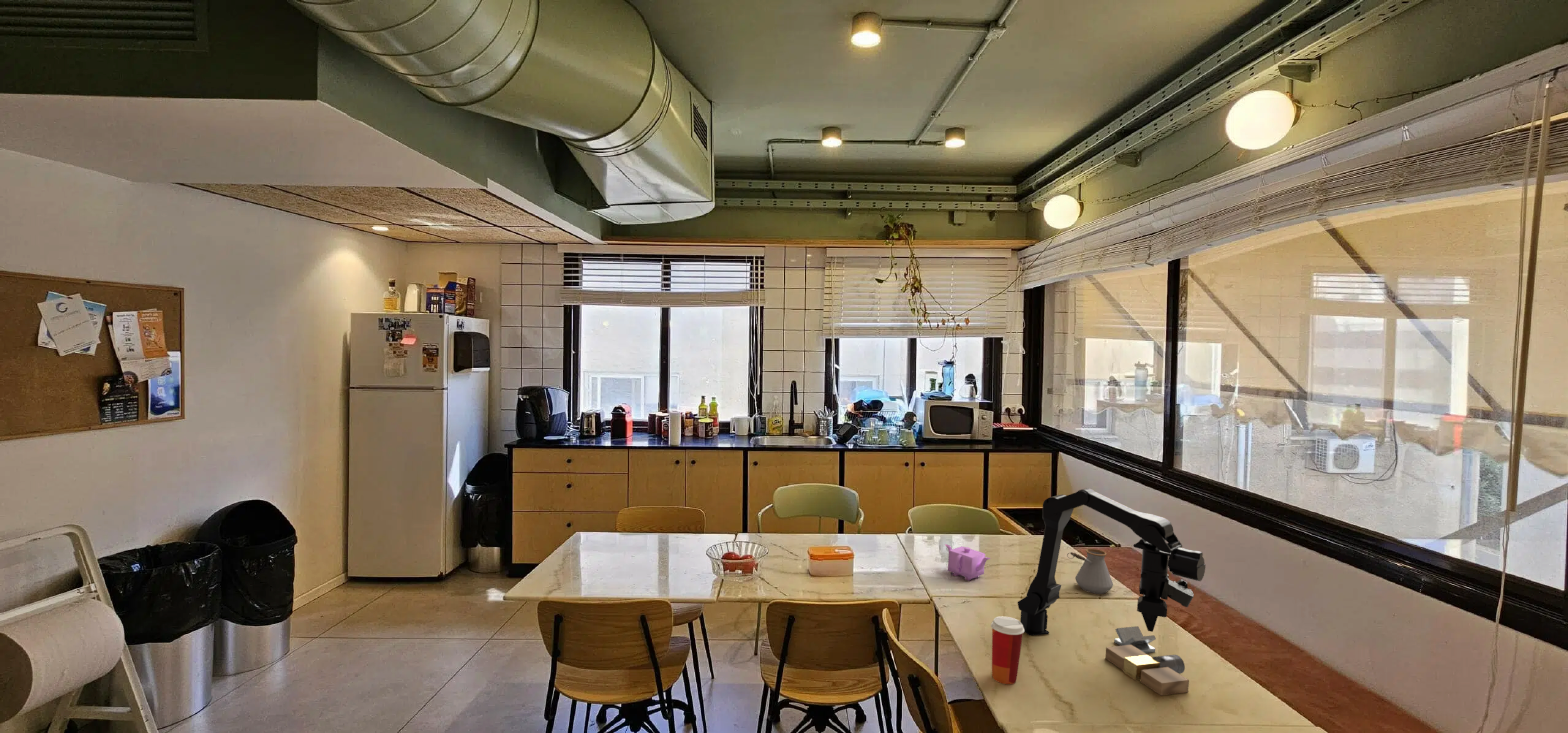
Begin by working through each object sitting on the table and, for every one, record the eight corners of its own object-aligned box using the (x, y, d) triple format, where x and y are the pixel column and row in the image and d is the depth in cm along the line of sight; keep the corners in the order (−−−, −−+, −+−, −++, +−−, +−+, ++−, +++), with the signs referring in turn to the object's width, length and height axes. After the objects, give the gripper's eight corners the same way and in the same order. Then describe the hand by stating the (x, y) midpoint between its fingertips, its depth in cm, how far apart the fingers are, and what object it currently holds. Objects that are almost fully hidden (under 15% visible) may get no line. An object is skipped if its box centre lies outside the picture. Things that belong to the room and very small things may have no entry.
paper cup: (1013, 670, 167) (1017, 615, 166) (1025, 687, 159) (1030, 629, 158) (982, 669, 167) (986, 614, 166) (993, 686, 159) (997, 628, 158)
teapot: (1000, 579, 230) (1002, 551, 229) (979, 587, 221) (981, 558, 220) (954, 564, 243) (956, 537, 243) (933, 571, 234) (935, 544, 234)
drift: (1135, 681, 165) (1136, 665, 165) (1123, 672, 169) (1124, 657, 169) (1158, 678, 167) (1159, 662, 167) (1145, 670, 171) (1147, 654, 171)
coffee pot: (1086, 580, 232) (1089, 538, 231) (1119, 592, 223) (1122, 547, 222) (1050, 592, 220) (1053, 547, 219) (1083, 605, 211) (1086, 558, 210)
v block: (1133, 654, 179) (1134, 638, 179) (1114, 642, 186) (1115, 627, 185) (1155, 652, 181) (1156, 636, 180) (1135, 640, 187) (1136, 625, 187)
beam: (1160, 695, 158) (1161, 683, 158) (1105, 658, 176) (1106, 647, 176) (1188, 692, 161) (1189, 679, 160) (1130, 655, 178) (1131, 644, 178)
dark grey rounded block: (1158, 680, 167) (1164, 666, 166) (1145, 667, 171) (1151, 653, 170) (1181, 677, 169) (1187, 663, 167) (1168, 664, 173) (1173, 650, 171)
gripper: (1193, 587, 154) (1189, 654, 155) (1191, 565, 171) (1187, 625, 171) (1139, 577, 160) (1134, 642, 161) (1141, 556, 176) (1137, 615, 177)
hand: (1150, 630), depth 167 cm, fingers closed
